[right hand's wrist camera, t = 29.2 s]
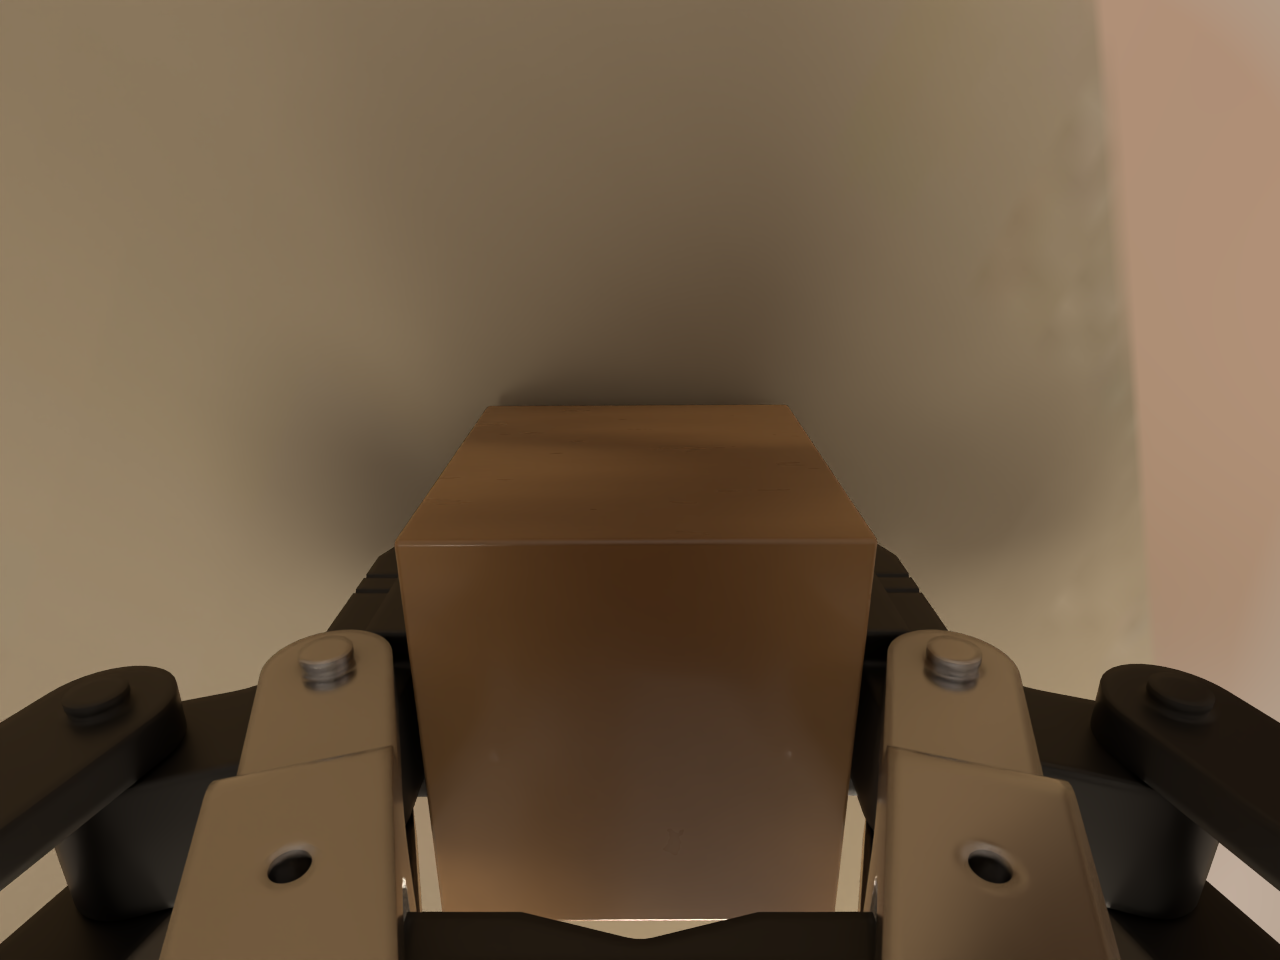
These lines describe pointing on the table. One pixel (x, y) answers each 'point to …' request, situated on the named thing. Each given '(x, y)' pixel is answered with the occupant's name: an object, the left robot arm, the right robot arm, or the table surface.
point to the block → (637, 662)
